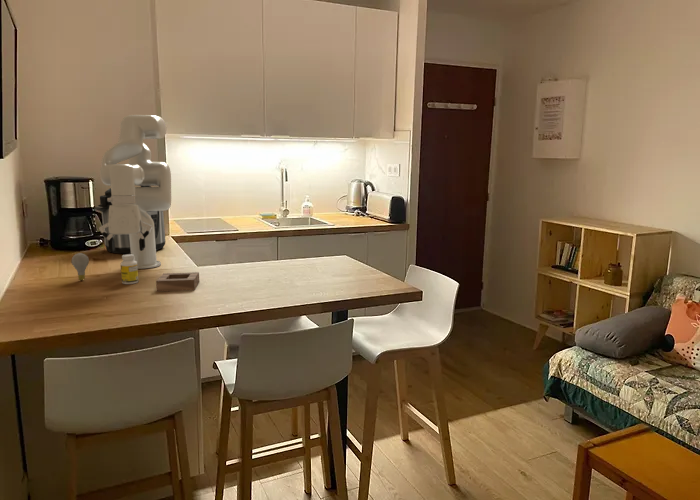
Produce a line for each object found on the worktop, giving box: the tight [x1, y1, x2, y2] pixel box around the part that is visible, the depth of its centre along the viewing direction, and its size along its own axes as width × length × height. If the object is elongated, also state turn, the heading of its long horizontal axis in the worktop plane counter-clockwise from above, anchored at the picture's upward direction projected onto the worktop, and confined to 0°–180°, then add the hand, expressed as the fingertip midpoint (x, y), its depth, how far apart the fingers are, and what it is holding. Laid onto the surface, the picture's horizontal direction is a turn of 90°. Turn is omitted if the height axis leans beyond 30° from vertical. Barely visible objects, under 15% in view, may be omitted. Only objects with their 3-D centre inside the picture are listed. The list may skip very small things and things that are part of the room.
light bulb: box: [71, 252, 90, 281], centre depth 196 cm, size 6×6×10 cm
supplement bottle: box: [120, 253, 139, 285], centre depth 193 cm, size 5×5×10 cm
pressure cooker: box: [94, 186, 166, 254], centre depth 259 cm, size 30×28×32 cm
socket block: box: [155, 271, 200, 293], centre depth 187 cm, size 12×12×4 cm
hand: (127, 250), depth 191 cm, fingers open, 9 cm apart
